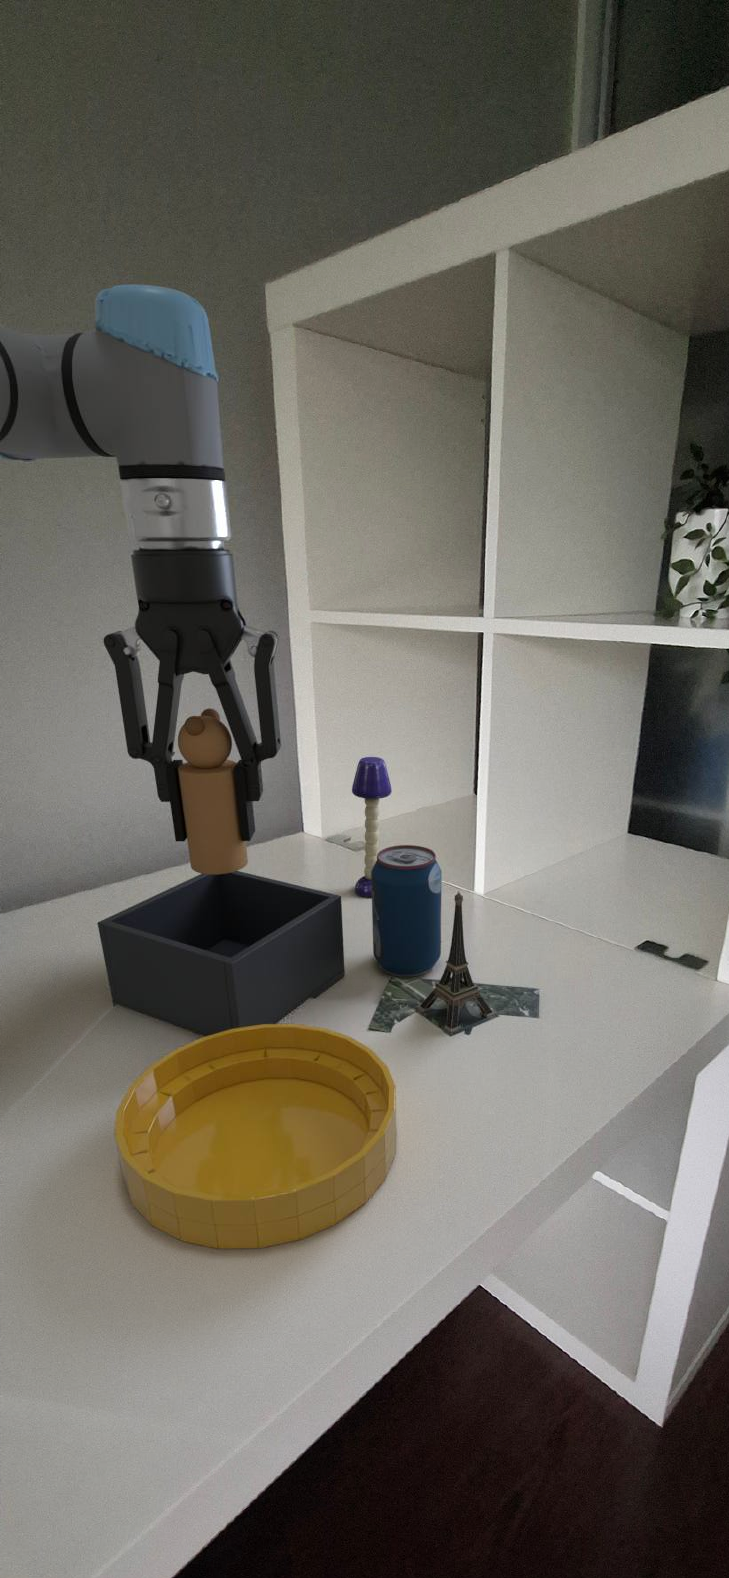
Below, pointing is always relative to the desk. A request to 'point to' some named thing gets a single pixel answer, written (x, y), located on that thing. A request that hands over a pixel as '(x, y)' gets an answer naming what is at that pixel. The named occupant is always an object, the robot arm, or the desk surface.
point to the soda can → (406, 910)
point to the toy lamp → (370, 811)
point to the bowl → (257, 1135)
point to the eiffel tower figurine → (452, 995)
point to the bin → (224, 951)
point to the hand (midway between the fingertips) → (216, 835)
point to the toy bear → (210, 796)
